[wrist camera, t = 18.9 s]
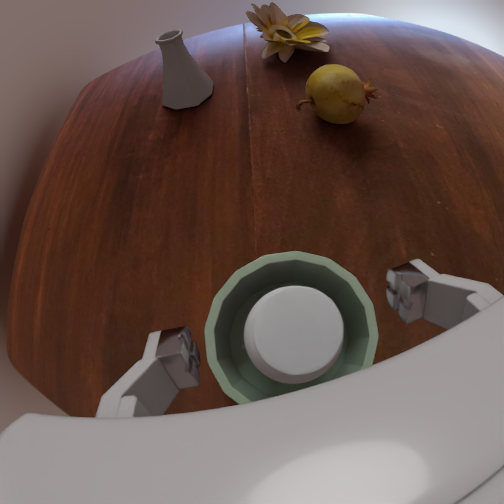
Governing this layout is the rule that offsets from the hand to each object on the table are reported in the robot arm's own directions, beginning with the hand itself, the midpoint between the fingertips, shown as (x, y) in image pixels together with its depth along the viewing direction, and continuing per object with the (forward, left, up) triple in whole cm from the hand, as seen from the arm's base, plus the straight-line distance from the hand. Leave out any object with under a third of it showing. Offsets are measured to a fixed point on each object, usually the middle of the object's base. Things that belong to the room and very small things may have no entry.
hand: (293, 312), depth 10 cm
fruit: (+18, +18, -12) cm, 28 cm away
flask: (+5, +32, -12) cm, 34 cm away
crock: (0, -1, -12) cm, 12 cm away
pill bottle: (0, -1, -11) cm, 11 cm away
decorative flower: (+23, +34, -12) cm, 42 cm away
